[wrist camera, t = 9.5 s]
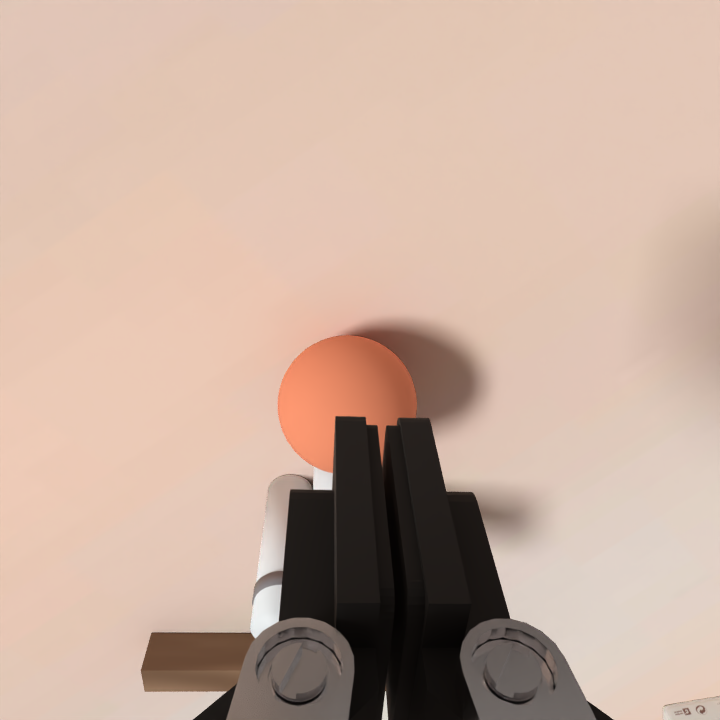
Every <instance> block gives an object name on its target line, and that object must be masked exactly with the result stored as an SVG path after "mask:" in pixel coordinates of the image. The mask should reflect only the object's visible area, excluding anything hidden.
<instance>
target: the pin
mask: <svg viewBox="0 0 720 720" xmlns="http://www.w3.org/2000/svg"><path fill="white" fill-rule="evenodd" d="M290 489H305V490H313V488H312V485H311V484H310V483H309V482H308V481H307V480H306V479H305V478H303V477H300V476H297V475H283V476H280V477H278V478H276V479H275V480H273V481H272V482H271V484H270V485H269V488H268V495H267V502H266V510H265V518H264V526H263V533H262V541H261V549H260V556H259V564H258V572H257V580H256V584H255V587H254V594H253V602H252V604H253V610H252V618H251V626H250V630H251V633H252V635H253V636H254V638H255V639H256V638H257V637H258V636H259V634H260V633H261V632H262V631H263V630H265V629H267V628H268V627H270V626H272V625H273V624H275V623H277V622H279V611H280V599H281V588H282V576H283V564H284V553H285V541H286V530H287V518H288V506H289V495H290Z"/></svg>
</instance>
